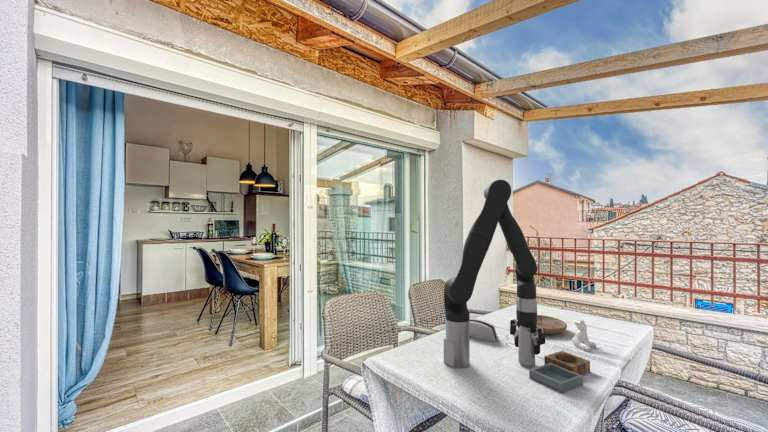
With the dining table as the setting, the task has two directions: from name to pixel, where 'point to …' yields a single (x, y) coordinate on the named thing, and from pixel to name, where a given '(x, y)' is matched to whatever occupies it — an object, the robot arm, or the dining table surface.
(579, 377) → the tray
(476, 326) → the grey rounded slab
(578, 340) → the sitting furry creature
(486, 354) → the dining table surface
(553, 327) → the ceramic bowl
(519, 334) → the energy drink can
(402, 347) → the dining table surface
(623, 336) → the dining table surface
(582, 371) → the bore block
